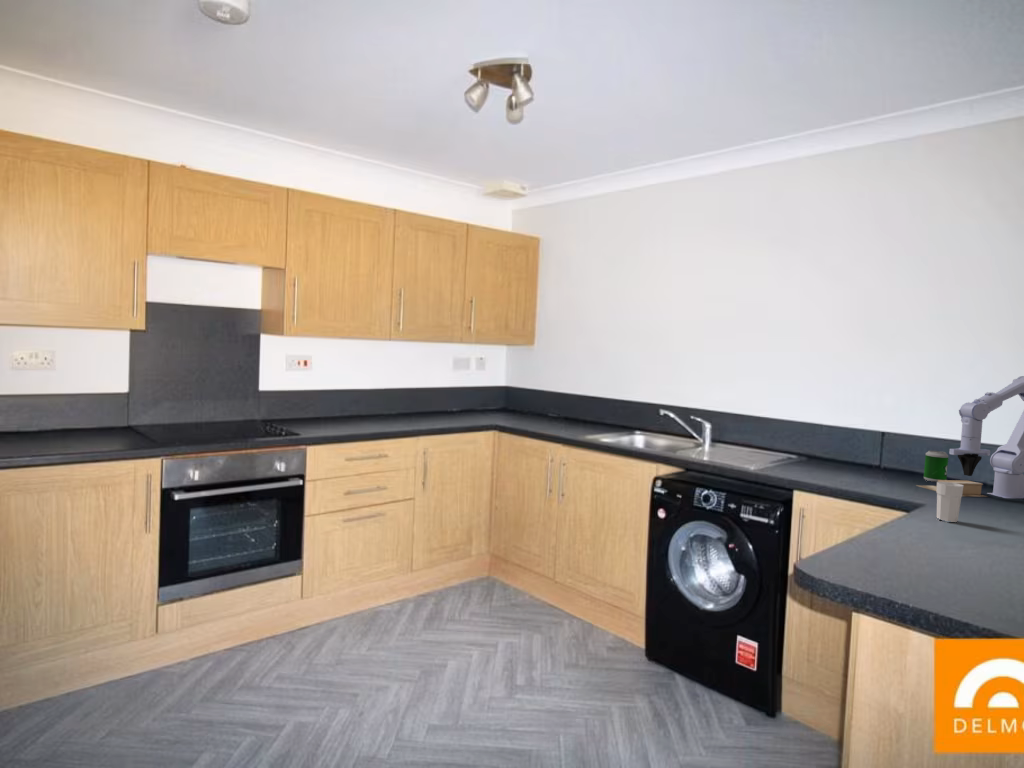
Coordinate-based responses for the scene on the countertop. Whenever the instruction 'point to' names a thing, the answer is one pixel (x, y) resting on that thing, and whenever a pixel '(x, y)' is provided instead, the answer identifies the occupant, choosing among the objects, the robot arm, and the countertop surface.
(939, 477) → the soda can
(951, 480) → the lid flap
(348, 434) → the countertop surface
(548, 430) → the countertop surface
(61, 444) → the countertop surface
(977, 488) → the parcel box
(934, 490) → the board
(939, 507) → the cup
